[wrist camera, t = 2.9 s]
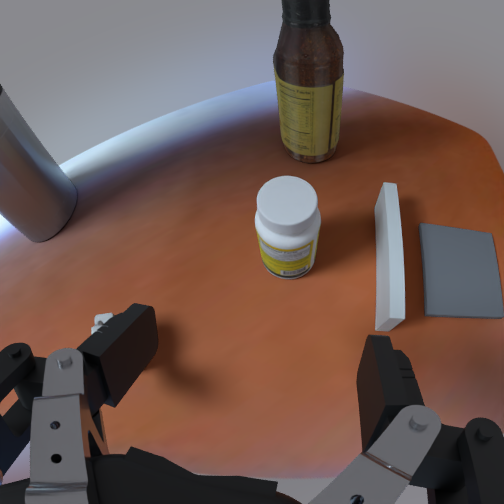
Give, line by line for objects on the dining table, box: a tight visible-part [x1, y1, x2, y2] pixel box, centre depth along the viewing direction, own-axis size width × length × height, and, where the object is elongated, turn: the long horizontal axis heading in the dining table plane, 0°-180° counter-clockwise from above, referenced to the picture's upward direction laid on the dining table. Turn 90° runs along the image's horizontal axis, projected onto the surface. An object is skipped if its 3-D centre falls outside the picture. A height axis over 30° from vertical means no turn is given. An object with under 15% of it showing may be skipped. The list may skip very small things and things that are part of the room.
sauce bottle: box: [273, 0, 344, 163], centre depth 24 cm, size 6×6×20 cm
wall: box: [374, 182, 405, 331], centre depth 24 cm, size 1×12×4 cm, turn 170°
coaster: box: [419, 223, 504, 319], centre depth 24 cm, size 9×9×1 cm
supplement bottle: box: [255, 176, 321, 279], centre depth 24 cm, size 5×5×8 cm
